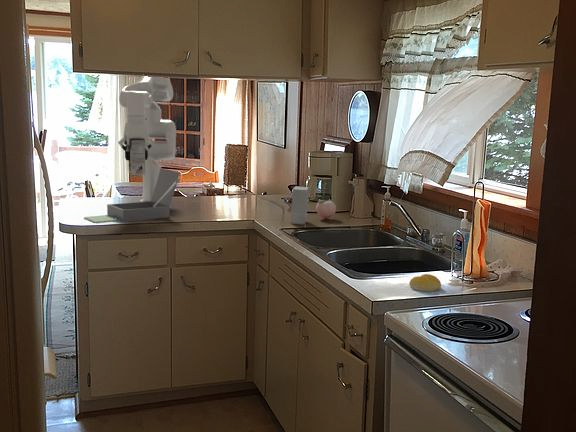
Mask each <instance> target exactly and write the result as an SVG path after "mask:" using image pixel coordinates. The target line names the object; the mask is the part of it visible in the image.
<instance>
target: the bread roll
mask: <svg viewBox="0 0 576 432" xmlns="http://www.w3.org/2000/svg"><path fill="white" fill-rule="evenodd" d="M409 287H410V288H411V289H412V290H414V291H416V292H427V293H430V292H431V293H432V292H436V291H439V290H441V288H442V283H441V280H440V279H439V278H438V277H437V276H435V275H433V274H429V273H424V274H421V275H420V276H419V275H418V276H414V277H412V278H411V279H410V280H409Z"/></svg>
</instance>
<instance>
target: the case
mask: <svg viewBox="0 0 576 432" xmlns="http://www.w3.org/2000/svg"><path fill="white" fill-rule="evenodd" d="M180 174H181V172H179V171H174V170H170V169H164V168H161V169H160V172H159V176H158V179H157V183H156V186H155V190H154V193H153V197H152V200H151V201H146V202H140V201H136V202H121V203H108V204H106V208H107V210H106V213H107V214H106V215H107V216H111V217H112V218H116V219H117V220H118V221H120V220H121V221H120V222H125V223H126V222H134V221H147V220H154V219H155V220H157V219H163V218H164V219H166V218H167V219H168V218H170V214H171V213H170V211H171V210H170V207H171V205H172V202H173V198H174V195H175V190H176V189H177V184H180V183H181V182H180V181H181V179H180V178H179V176H180Z"/></svg>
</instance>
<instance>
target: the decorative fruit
mask: <svg viewBox="0 0 576 432" xmlns="http://www.w3.org/2000/svg"><path fill="white" fill-rule="evenodd" d="M315 210H316V213H317V214H318V216H319V217H320V218H323V220H327V219H330V218H331V217H332V216H334V215H335V213H336V211H337V205H336V202H335V201H334V200H331V199H328V197H326V199H325V200H324V199H321V200H318V201H317V204H316V207H315Z"/></svg>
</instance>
